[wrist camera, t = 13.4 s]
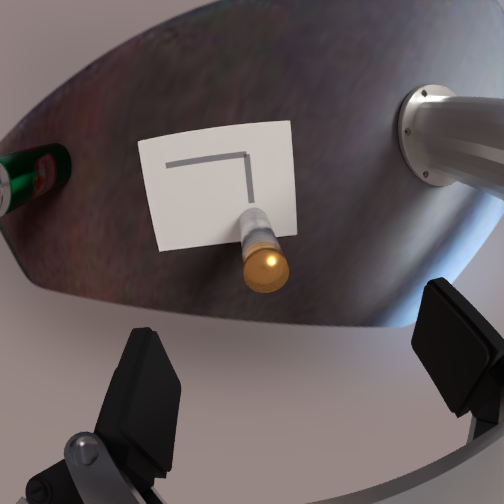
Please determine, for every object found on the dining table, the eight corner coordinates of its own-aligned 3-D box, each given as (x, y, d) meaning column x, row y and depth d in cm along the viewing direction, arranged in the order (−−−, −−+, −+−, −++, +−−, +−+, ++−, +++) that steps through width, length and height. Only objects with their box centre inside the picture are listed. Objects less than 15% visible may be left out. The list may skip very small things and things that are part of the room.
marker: (267, 205, 29) (288, 250, 19) (269, 233, 30) (289, 289, 20) (237, 208, 29) (241, 255, 19) (240, 237, 30) (246, 295, 20)
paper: (289, 120, 25) (289, 120, 25) (296, 234, 30) (297, 234, 30) (138, 141, 25) (137, 141, 25) (159, 250, 30) (159, 251, 30)
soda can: (69, 191, 26) (3, 229, 15) (38, 180, 25) (-31, 213, 14) (78, 147, 24) (6, 166, 14) (45, 139, 23) (-29, 156, 12)
